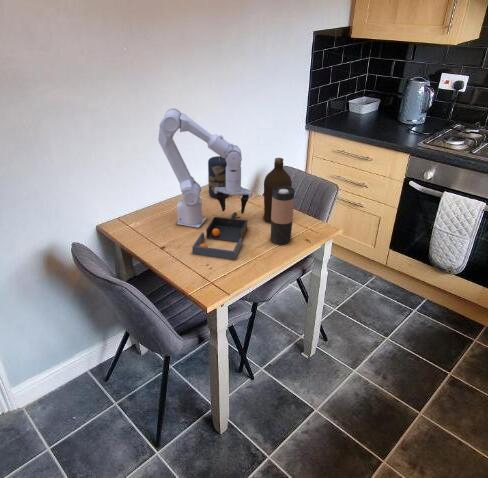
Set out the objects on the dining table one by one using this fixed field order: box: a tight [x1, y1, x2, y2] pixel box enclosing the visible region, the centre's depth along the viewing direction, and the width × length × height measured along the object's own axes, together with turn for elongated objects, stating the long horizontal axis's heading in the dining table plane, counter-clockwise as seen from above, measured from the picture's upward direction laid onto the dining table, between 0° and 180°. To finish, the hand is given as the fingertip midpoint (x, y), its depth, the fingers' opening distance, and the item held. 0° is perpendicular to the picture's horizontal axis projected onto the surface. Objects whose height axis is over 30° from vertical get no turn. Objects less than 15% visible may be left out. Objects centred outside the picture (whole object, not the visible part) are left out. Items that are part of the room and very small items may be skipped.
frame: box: [192, 232, 243, 261], centre depth 152 cm, size 10×15×3 cm
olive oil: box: [263, 157, 293, 224], centre depth 166 cm, size 11×11×25 cm
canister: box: [207, 155, 230, 199], centre depth 189 cm, size 10×10×18 cm
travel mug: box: [270, 186, 296, 246], centre depth 153 cm, size 8×8×20 cm
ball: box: [212, 228, 220, 236], centre depth 160 cm, size 3×3×3 cm
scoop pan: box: [205, 211, 248, 243], centre depth 165 cm, size 19×13×4 cm
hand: (233, 211), depth 168 cm, fingers open, 7 cm apart
